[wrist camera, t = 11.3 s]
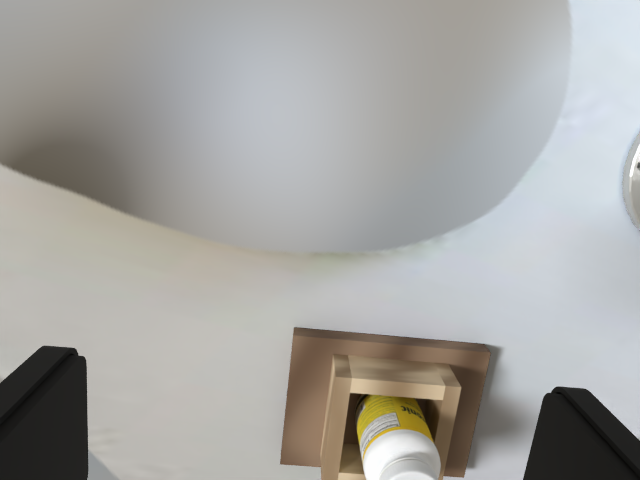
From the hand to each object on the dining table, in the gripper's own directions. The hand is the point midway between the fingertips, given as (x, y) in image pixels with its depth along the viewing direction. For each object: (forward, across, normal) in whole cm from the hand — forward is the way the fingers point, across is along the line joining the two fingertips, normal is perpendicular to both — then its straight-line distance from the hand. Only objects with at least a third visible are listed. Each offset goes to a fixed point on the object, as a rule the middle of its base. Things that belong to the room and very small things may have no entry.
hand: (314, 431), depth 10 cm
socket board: (+28, -8, +17) cm, 34 cm away
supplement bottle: (+27, -8, +17) cm, 33 cm away
